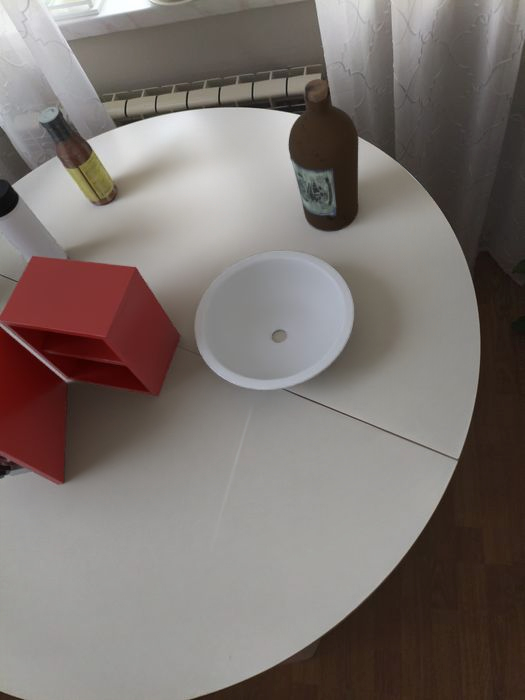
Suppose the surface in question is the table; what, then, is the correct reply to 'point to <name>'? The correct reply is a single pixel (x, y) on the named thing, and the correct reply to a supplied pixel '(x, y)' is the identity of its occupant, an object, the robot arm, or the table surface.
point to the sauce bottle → (78, 158)
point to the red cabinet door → (31, 413)
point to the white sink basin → (274, 320)
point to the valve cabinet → (93, 323)
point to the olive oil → (325, 160)
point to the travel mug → (25, 227)
